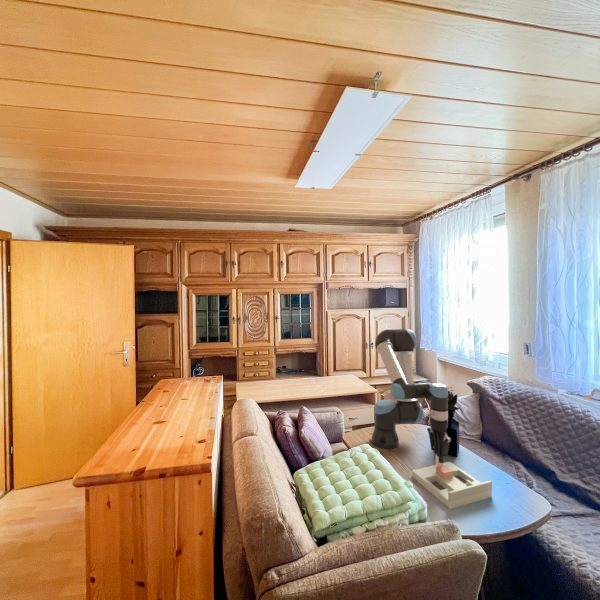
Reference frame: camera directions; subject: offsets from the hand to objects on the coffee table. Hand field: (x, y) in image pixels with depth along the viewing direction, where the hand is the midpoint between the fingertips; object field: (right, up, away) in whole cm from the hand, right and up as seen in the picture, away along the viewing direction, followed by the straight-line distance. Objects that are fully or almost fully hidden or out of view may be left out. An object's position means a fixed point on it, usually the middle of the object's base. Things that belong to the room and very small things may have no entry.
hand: (439, 468), depth 144 cm
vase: (+15, -4, +25) cm, 29 cm away
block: (+1, -2, -3) cm, 4 cm away
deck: (+2, -5, -6) cm, 8 cm away
